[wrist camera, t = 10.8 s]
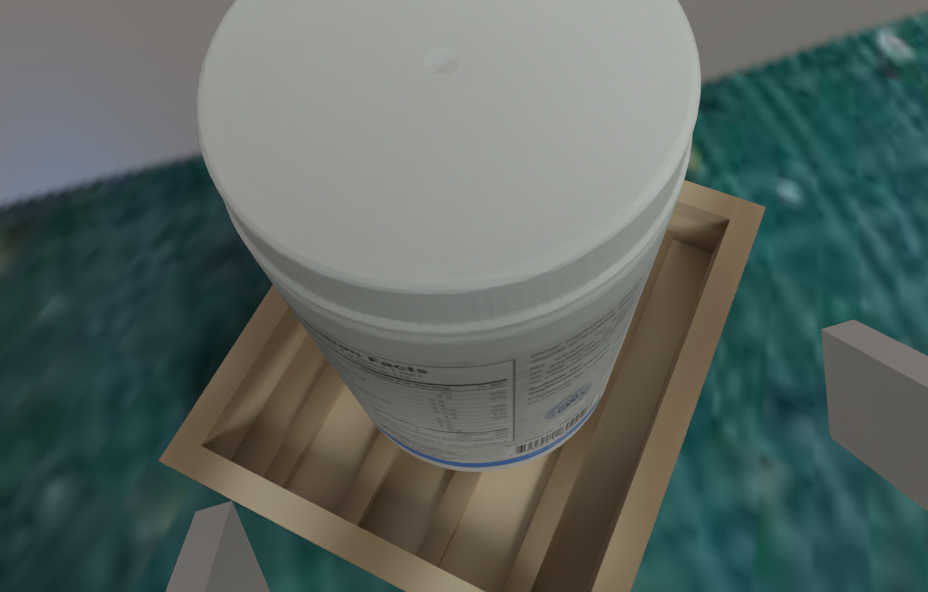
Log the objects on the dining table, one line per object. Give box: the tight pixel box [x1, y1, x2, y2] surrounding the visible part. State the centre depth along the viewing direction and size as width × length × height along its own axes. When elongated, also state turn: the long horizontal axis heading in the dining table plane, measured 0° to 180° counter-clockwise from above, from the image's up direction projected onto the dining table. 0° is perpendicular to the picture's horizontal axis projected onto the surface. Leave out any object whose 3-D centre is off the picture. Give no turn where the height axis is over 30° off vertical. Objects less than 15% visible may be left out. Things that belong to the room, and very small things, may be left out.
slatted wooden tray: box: [159, 180, 766, 592], centre depth 26 cm, size 15×17×4 cm
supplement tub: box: [196, 0, 701, 472], centre depth 19 cm, size 10×10×15 cm
